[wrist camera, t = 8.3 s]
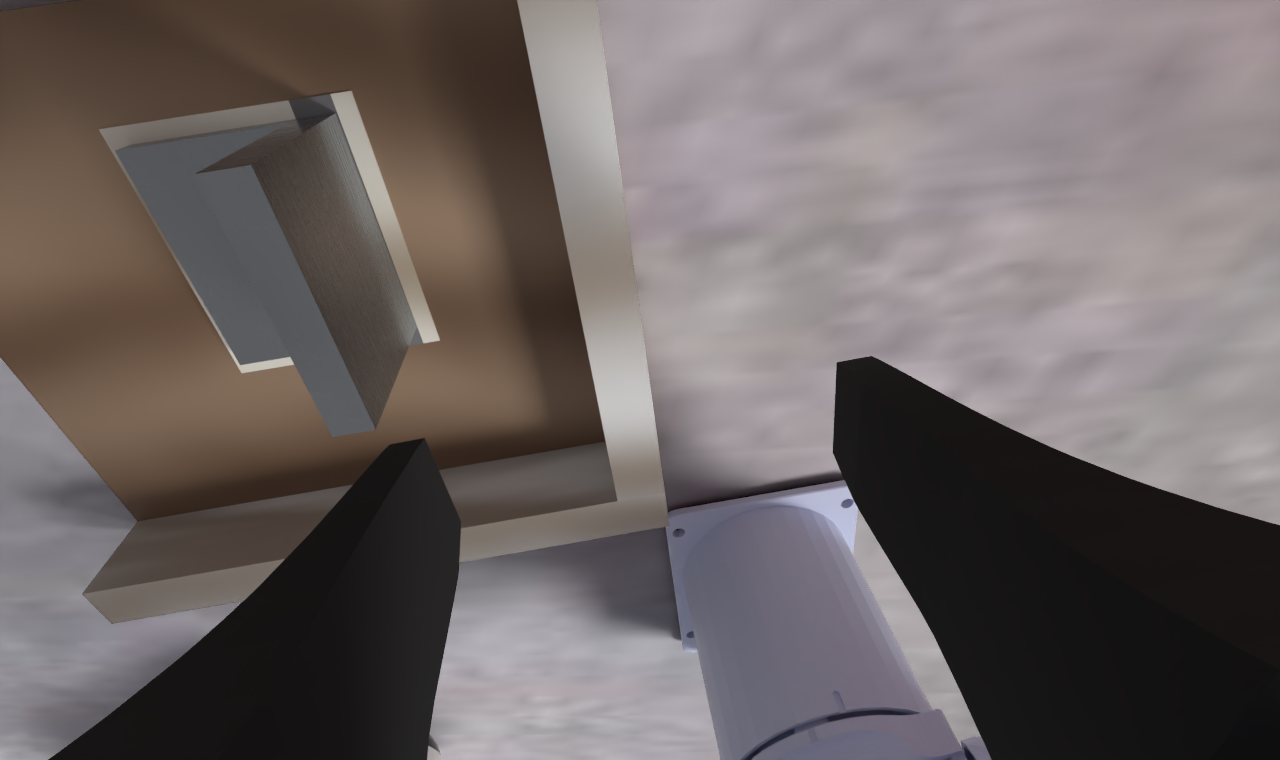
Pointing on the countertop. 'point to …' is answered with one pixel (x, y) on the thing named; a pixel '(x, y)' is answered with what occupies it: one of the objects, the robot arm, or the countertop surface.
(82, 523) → the countertop surface
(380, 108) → the arena
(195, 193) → the bracket
